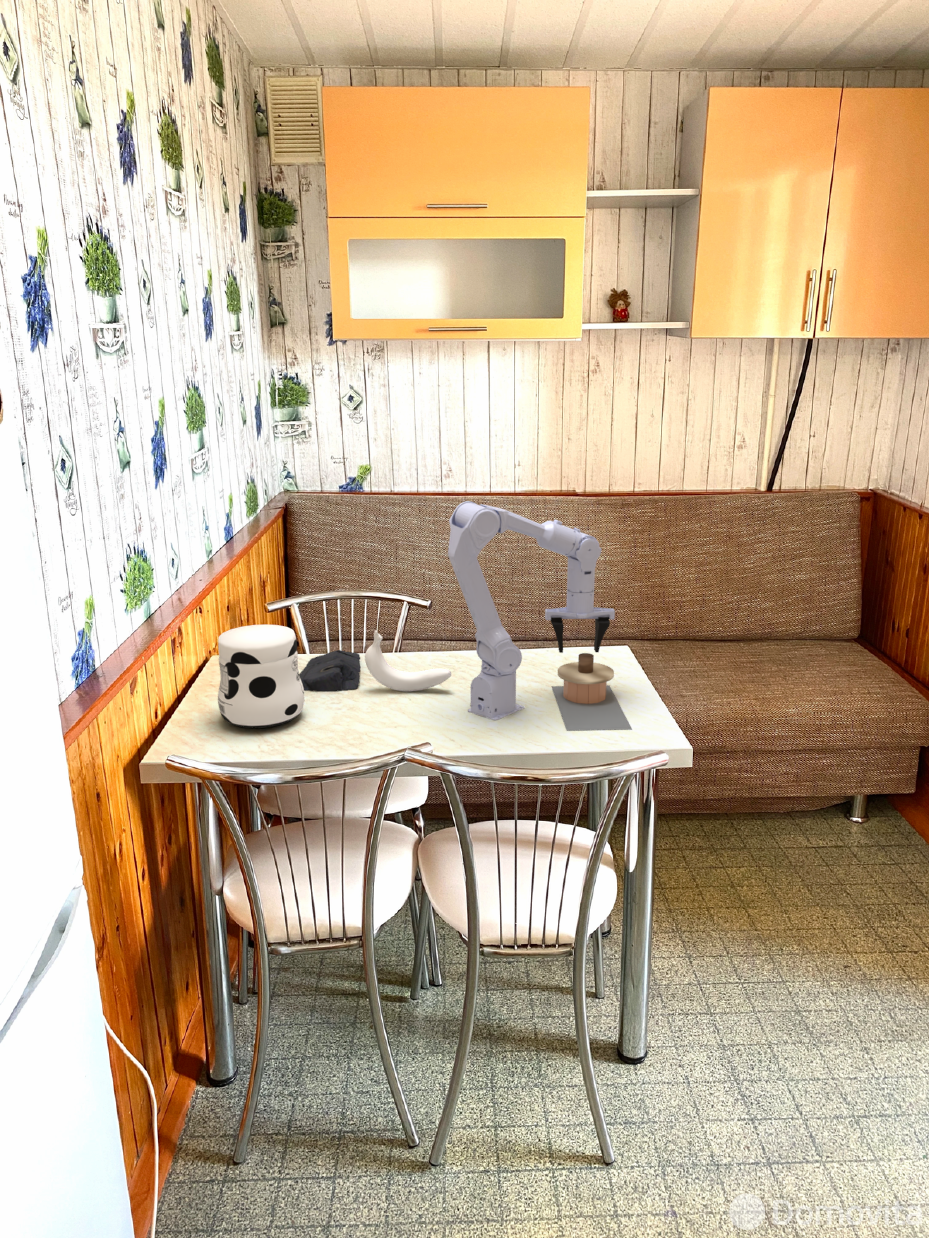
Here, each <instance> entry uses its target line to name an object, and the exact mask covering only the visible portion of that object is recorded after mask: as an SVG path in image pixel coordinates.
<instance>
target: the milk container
mask: <svg viewBox="0 0 929 1238" xmlns="http://www.w3.org/2000/svg"><path fill="white" fill-rule="evenodd" d="M217 643H218V644H217V646H218V655H219V656H218V664H219V673H220V681H219V687H218V691H217V692H218V693H217V704H218V705H217V706H218V709H219V712H220V715H221V717H222V719H224V721H225V722H227V723H228V724H230V725H232V726H236V727H239V728H245V729H261V728H262V729H263V728H271V727H272V728H273V727H276V726H280V725H284V724H286V723H289V722H291V721H292V720H294V719H296V718H297V717H298V716H299V715H300V714H301V713H302V712H303V711H302V710H303V709H304V704H305V691H304V688H303V684H302V682H301V679H300V676H299V674H300V672H299V663H298V662H299V660H298V658H299V656H298V654H299V653H298V642H297V637H296V633H295V631H294V629H292V628H290V627H288V626H285V625H284V626H283V625H278V624H252V625H245V626H239V627H236V628H231V629H229V630H226V631H224V632H222V633H221V634H220V635H219V636H218V641H217Z"/></svg>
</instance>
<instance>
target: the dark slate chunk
mask: <svg viewBox="0 0 929 1238" xmlns="http://www.w3.org/2000/svg"><path fill="white" fill-rule="evenodd" d="M360 660H361V656H360V654H359V653H357V652H351V651H345V650H341V649H338V650H337V649H336V650H334V651H333V650H332V651H330V652H327V653H325V654H322V655H321V654H320V655H319V656H318V655H317V656H315V657H312V658H310V659H309V661H308V662H307V664H306V666H305V667H304V668H303V669H302V671H301V672H299V676H300V679H301V682H302V684H303V688H304V692H307V691H308V692H320V693H321V692H332V693H333V692H339V691H340V692H342V691H350V690H357V689H358V688H359V684H360V680H361V675H360V673H361V661H360Z"/></svg>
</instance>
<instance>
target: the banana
mask: <svg viewBox="0 0 929 1238" xmlns="http://www.w3.org/2000/svg"><path fill="white" fill-rule="evenodd" d="M383 639H384V638H383V636H382V635H381V634H380V633H378V631H377V630H374V633H373V643H372V644H371V645H369V647H368V648H367V650H366V651H365V655H364V661H365V666H366V667H367V670H368V672H369V673H370V674H371V676H372V677H373V678H374V679H375V680H376V681H377V682H378V683H379V684H381V685H383V686H384V687H386V688H388V689H391V690H393V691H398V692H420V691H423V690H426V689H430V688H432V687H433V688H434V687H435V686H438V685H441V684H442V683H444V682H446V681H447V680H449V679H450V678H451V677H452V671H451V670H450V669H448V668H442V667H440V668H439V667H438V668H430V669H426V670H425V669H424V670H420V671H404V670H401V669H397V668H395V667H393V666H392V665H390V664H389V663H388V660H386V658H385V656H384V655H383V652H382V648H381V642H382V640H383Z"/></svg>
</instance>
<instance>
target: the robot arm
mask: <svg viewBox="0 0 929 1238" xmlns="http://www.w3.org/2000/svg"><path fill="white" fill-rule="evenodd" d="M448 522H449V528H450V532H449V533H450V534H449V542H448V551H447V556H448V560H449V561H450V564H451V567H452V569H453V572H454V575H455V577H456V580H457V582H458V586H459V587H460V590H461V592H462V595H463V598H464V600H465V603H466V606H467V609H468V610H469V613H470V615H471V616H470V617H472V621H473V623H474V626H475V628H476V633H475V634H474V638H475V640H476V649H475V650H476V654H477V656H478V659H480V660H481V666H480V668H481V669H480V672H479V674H478V675H477V676H475V677H474V678H472V681H471V683H470V708H468V709H467V712H468V713H472V714H474V715H476V716H480V717H483V718H487V719H489V720H492V721H499V720H501V719H502V718H505V717H509V716H510V715H512V714H515V713H517V712H519V711H522V710H523V709H525V706H524V705H522V704H518V703H517V700H516V699H517V670H518V668H519V667H520V665H521V664H522V659H523V655H522V652H521V649H520V648H519V647H518V646H517V645H516V644H515V643H514V642H513V641H512V637H511V635H510V634H509V632H508V631H507V630H506V629H505V627H504V626H503V623H502V621H501V619H500V616H499V613H498V611H497V609H496V605H495V602H494V600H493V597H492V594H491V592H490V589H489V586H488V584H487V581H486V579H485V575H484V574H483V570H482V567H481V565H480V563H479V560H478V556H479V555H480V552H481V551H482V550H483V549H484V548H485V547H486V546H487V545H488V543H489V542H490V541H491V540H492V539H494V537H495V536H496V535H497V534H503V533H505V532H506V531H512V532H515V533H519V534H521V535H525V536H528V537H531V538H533V539H535V540H536V542H537V545H538V547H540V548H542V549H544V550H547V551H551V552H553V553H556V554H558V555H560V556H565V557H567V573H566V574H567V575H566V576H567V577H566V605H565V606H566V607H556V608H545V609H544V612H545V613H544V614H545V615H544V619H545V620H546V621H550V624H551V625H552V627H553V630H554V633H555V637H556V641H557V646H558V647H557V648H558V653H560V654H563V653H564V620H572V619H573V620H582V619H583V620H586V619H587V620H594V643H593V650H594V652H595V653H599V652H600V647H601V644H602V641H603V639H604V636H605V634H606V632H607V630H609V628H610V624H611V620H615V619H616V618H615V616H616V615H615V614H616V611H615V609H614V608H610V607H609V608H608V607H607V608H606V607H597V606H595V607H594V605H595V604H594V601H595V582H596V581H595V580H596V579H595V578H596V568H597V561H598V560H599V558H600V556H601V554H602V550H603V549H602V547H600V543H599V541H598V540H597V538H596V537H595V536H594V535H591V534H588V533H584V532H581V529H580V528H577V527H573V528H570V527H568V526H566V525H563V522H562V521H560V520H558V519H554V520H547V521H545V522H542V523H538V522H536V521H535V520H531V519H530V518H526V517H525V516H522V515H519V514H517V513H515V512H513V511H509V510H507V509H504V508H500V507H496V506H492V505H488V504H482V503H480V504H477V503H476V502H474V501H471V500H470V501H469V500H468V501H467V500H466V501H463V502H461V503H459V504H458V505H457V506H456V508H455V509H454V511H453V513H452V515H450V518H449V520H448Z"/></svg>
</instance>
